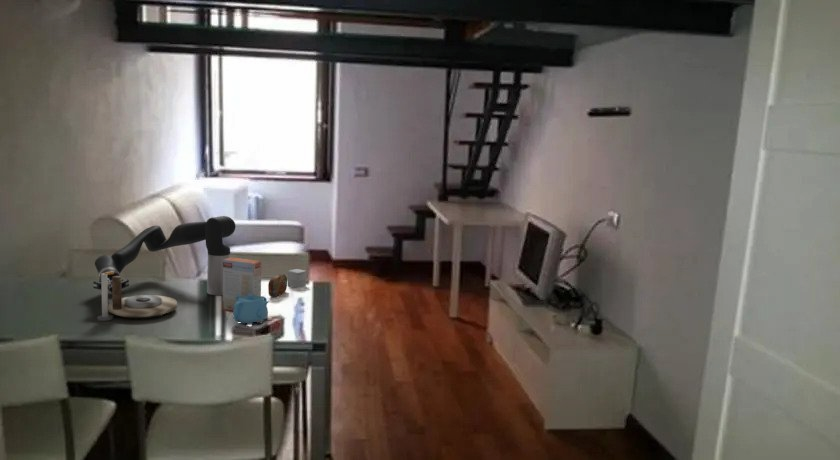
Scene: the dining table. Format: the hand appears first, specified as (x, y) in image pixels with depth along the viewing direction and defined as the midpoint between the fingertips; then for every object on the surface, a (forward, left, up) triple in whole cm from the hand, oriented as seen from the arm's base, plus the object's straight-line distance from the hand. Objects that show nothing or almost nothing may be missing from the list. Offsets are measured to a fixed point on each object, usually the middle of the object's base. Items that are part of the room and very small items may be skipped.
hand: (113, 289), depth 236 cm
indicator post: (+2, +4, -10) cm, 11 cm away
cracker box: (-45, -10, -10) cm, 47 cm away
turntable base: (-9, -6, -10) cm, 15 cm away
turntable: (-9, -6, -8) cm, 13 cm away
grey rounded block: (-63, -52, -10) cm, 82 cm away
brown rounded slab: (-56, -36, -10) cm, 67 cm away
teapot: (-51, +4, -10) cm, 52 cm away
